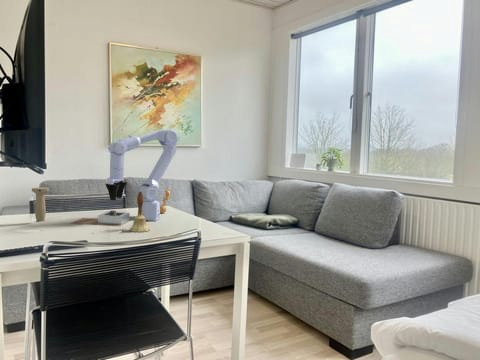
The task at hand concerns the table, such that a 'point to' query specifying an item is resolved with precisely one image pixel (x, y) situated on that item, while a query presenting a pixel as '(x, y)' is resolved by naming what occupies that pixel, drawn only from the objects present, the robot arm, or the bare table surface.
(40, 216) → the handle
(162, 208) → the figurine
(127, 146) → the robot arm
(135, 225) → the hand bell
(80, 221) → the brown board
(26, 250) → the table surface
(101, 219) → the grey square frame
